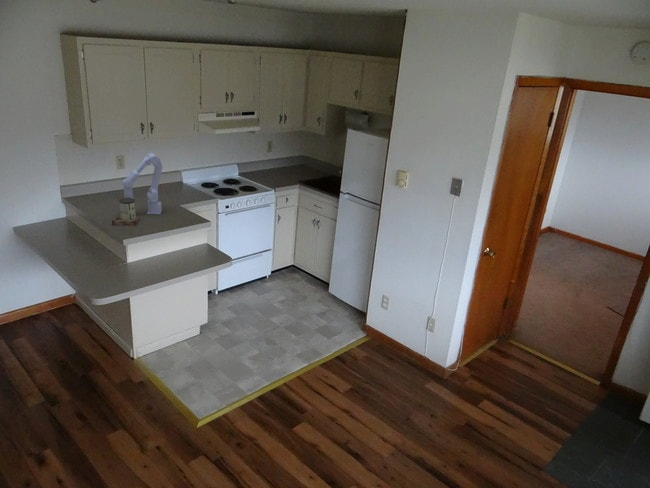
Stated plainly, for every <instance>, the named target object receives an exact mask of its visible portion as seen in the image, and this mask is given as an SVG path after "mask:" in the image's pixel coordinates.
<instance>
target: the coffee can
mask: <svg viewBox="0 0 650 488" xmlns="http://www.w3.org/2000/svg"><path fill="white" fill-rule="evenodd" d="M118 202H119V211H120V220H135V218H136V217H137V214H136V212H137V211H136V202H135V198H133V199H132V198H125V197H122V198H120V199H119V200H118Z"/></svg>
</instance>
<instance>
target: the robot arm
mask: <svg viewBox="0 0 650 488" xmlns="http://www.w3.org/2000/svg"><path fill="white" fill-rule="evenodd" d="M147 166H153V167H154V169H153V173H152V178H151V183H150V187H149V188H148V191H147V193H146V198H147V213H146V214H147V215H161V213H162V211H163V210H162V209H163V208H162V201H159V190H158V188H159V184H160V181H161V175H162V170H163V165H162V162H161V159H160V157H158V156H157V155H156V154H155V153H153V152H148V153H147V155H146V156H145V157H144V158H143V160H142V161H141V163H139V165H138V166H137V168H136V169H135V170H132V171H130V172H129V175H127V177H125V179H122V180H123V181H122V185H123V194H124V198H132V199H134V193H133V186H134V183H136V181H137V180H138V178H139V177H140V173H141V172H142V171H143V170H144V169H145V168H146V167H147Z"/></svg>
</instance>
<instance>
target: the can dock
mask: <svg viewBox="0 0 650 488" xmlns="http://www.w3.org/2000/svg"><path fill="white" fill-rule="evenodd" d="M118 217H119V216H118V215H114V218H113V219H112V220H111V225H112V226H137V225H138V223H139V221H140V216H137V215H136V218H135V220H121V219H120V220H119V218H118Z"/></svg>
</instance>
